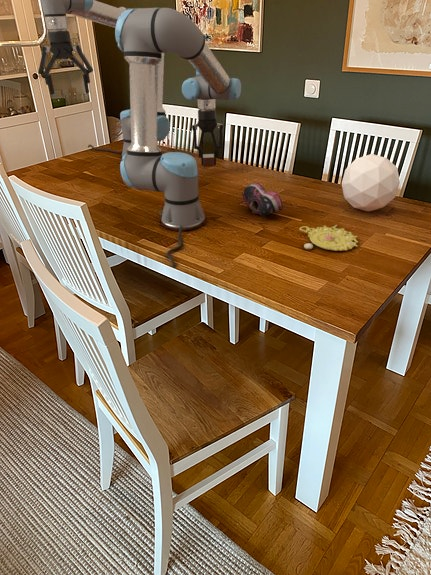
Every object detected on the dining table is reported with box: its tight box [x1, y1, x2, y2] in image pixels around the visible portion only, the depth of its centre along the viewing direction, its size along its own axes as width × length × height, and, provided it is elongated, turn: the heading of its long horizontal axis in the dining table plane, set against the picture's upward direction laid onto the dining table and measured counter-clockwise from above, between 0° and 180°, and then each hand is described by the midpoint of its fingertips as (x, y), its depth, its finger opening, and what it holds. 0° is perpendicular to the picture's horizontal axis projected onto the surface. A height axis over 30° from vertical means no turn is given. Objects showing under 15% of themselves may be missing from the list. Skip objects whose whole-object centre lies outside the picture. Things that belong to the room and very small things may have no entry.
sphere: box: [341, 153, 401, 213], centre depth 157 cm, size 19×20×20 cm
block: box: [203, 153, 215, 168], centre depth 196 cm, size 5×5×4 cm
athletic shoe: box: [238, 182, 284, 217], centre depth 160 cm, size 11×22×12 cm
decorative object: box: [299, 224, 359, 252], centre depth 141 cm, size 21×2×20 cm
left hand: (70, 93), depth 172 cm, fingers open, 13 cm apart
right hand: (208, 164), depth 197 cm, fingers closed on block, 5 cm apart
